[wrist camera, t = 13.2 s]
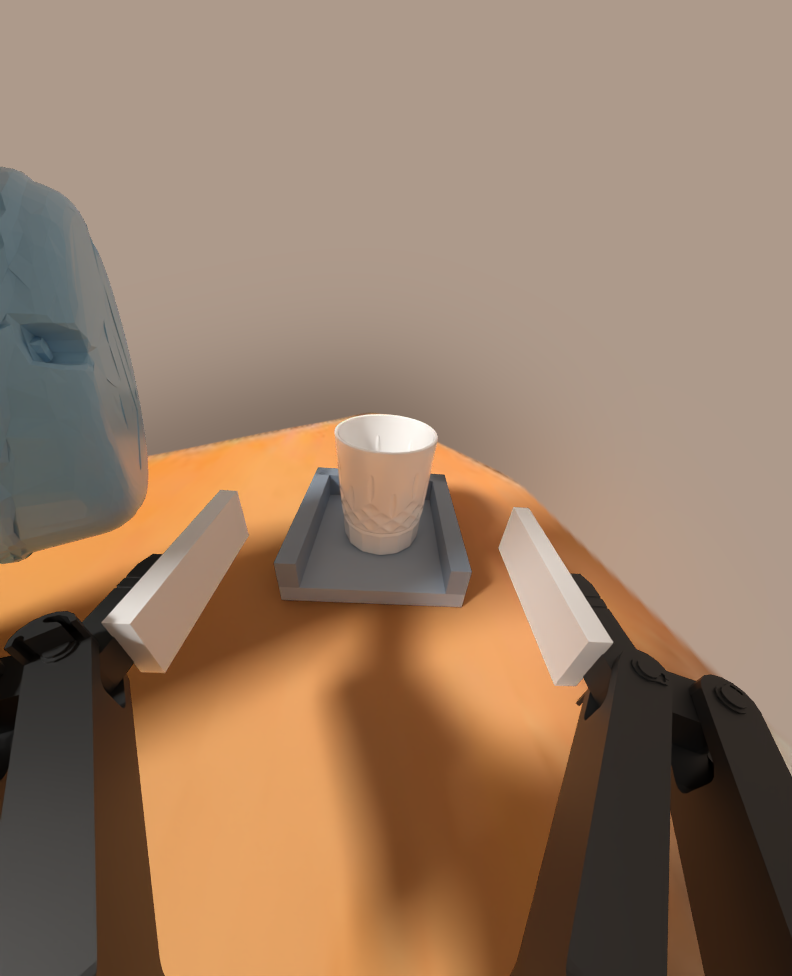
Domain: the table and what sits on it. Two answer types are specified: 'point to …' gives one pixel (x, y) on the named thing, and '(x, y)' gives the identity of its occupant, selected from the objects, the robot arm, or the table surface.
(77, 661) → the robot arm
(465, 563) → the dock
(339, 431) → the white cup
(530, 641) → the table surface
